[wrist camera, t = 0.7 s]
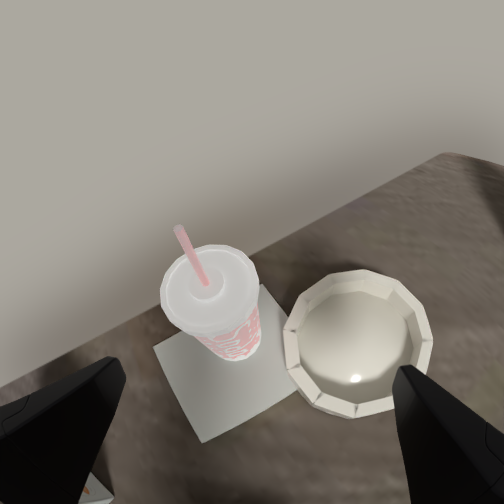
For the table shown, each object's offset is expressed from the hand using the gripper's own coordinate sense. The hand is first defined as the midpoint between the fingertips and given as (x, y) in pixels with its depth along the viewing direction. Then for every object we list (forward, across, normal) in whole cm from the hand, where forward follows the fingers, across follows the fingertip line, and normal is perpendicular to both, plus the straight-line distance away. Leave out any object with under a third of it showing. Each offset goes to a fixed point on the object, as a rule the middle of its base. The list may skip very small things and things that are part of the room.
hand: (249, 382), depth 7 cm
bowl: (+13, -7, +9) cm, 17 cm away
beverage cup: (+14, +4, +8) cm, 16 cm away
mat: (+12, +4, +10) cm, 16 cm away
